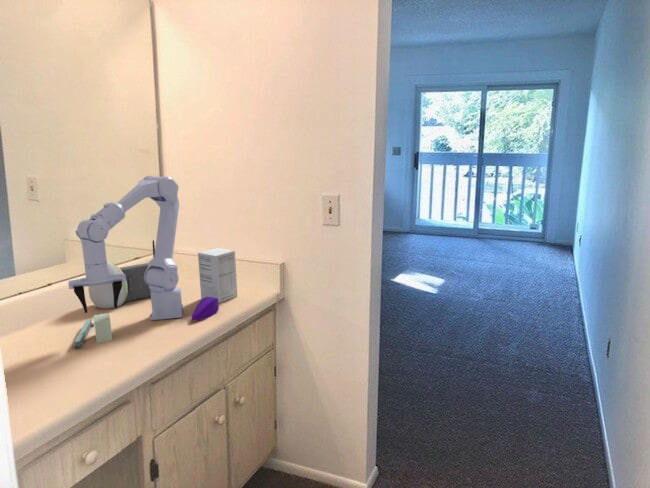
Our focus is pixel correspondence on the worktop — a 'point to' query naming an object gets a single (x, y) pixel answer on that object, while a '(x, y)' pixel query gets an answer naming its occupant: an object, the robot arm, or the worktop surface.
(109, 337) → the soap box
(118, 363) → the worktop surface
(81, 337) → the rail
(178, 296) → the robot arm
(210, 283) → the supplement box
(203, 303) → the crystal
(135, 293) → the electronic device
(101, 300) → the decorative egg
